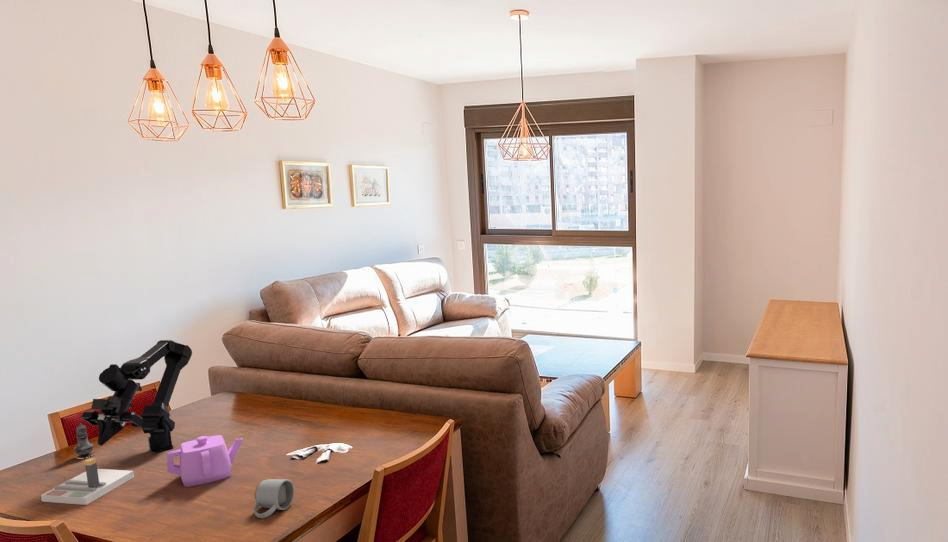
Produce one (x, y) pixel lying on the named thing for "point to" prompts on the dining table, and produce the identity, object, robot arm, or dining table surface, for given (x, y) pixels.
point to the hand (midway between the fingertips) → (99, 445)
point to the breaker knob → (92, 472)
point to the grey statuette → (83, 443)
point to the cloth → (325, 456)
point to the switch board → (86, 487)
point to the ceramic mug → (273, 495)
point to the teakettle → (203, 460)
